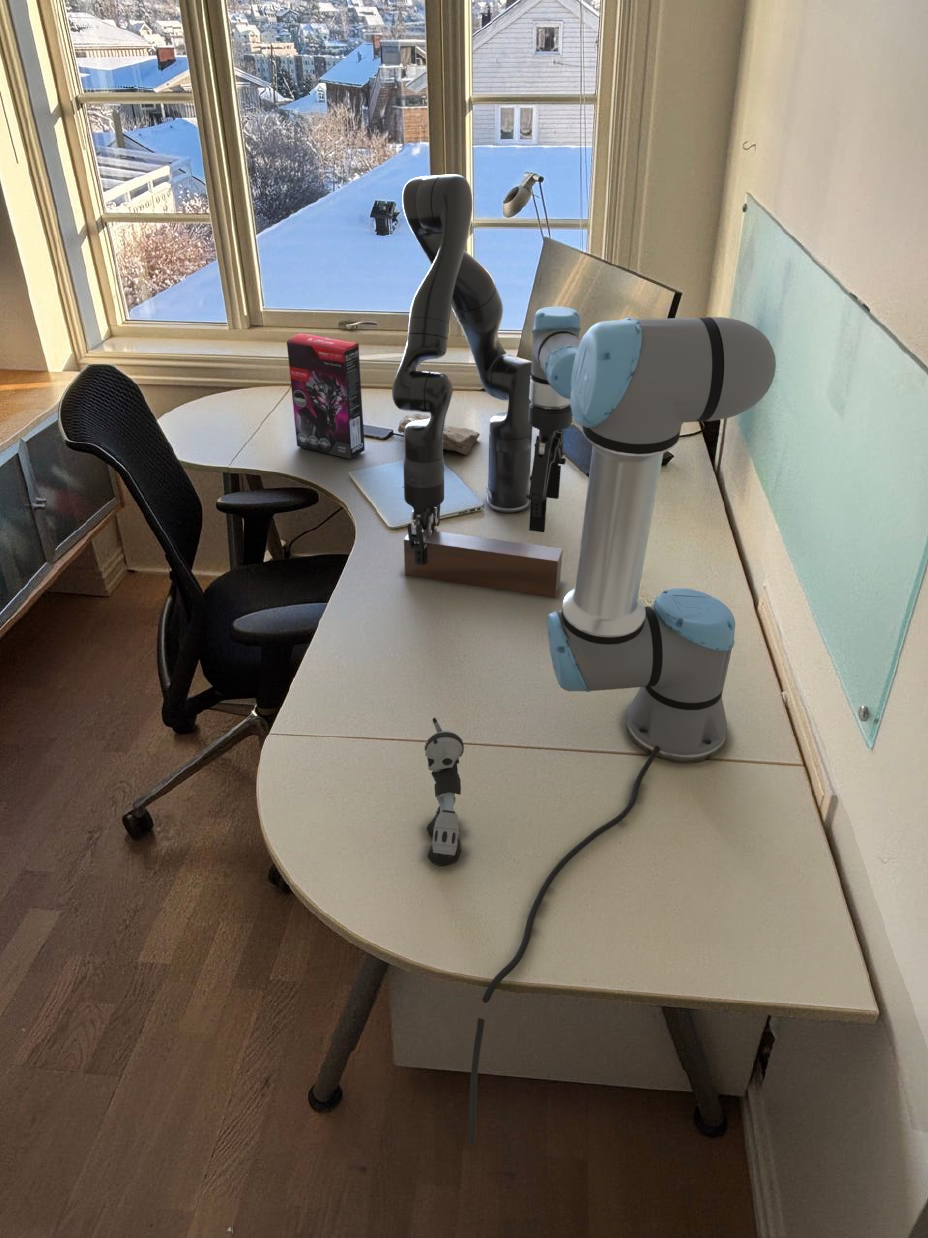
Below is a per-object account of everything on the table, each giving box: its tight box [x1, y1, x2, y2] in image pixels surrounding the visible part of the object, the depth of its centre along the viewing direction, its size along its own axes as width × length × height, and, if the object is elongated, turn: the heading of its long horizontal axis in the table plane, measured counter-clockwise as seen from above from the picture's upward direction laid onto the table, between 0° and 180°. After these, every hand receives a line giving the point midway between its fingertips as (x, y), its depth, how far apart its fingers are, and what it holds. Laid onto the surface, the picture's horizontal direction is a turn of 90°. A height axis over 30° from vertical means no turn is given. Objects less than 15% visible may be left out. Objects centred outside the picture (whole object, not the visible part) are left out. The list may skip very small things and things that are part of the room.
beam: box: [403, 530, 564, 599], centre depth 178 cm, size 5×30×8 cm, turn 75°
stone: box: [397, 413, 481, 455], centre depth 233 cm, size 21×15×6 cm
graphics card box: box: [286, 332, 366, 459], centre depth 224 cm, size 17×7×27 cm, turn 62°
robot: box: [423, 717, 465, 867], centre depth 118 cm, size 20×5×20 cm, turn 3°
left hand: (425, 556), depth 181 cm, fingers closed on beam, 5 cm apart
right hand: (544, 513), depth 169 cm, fingers open, 13 cm apart
